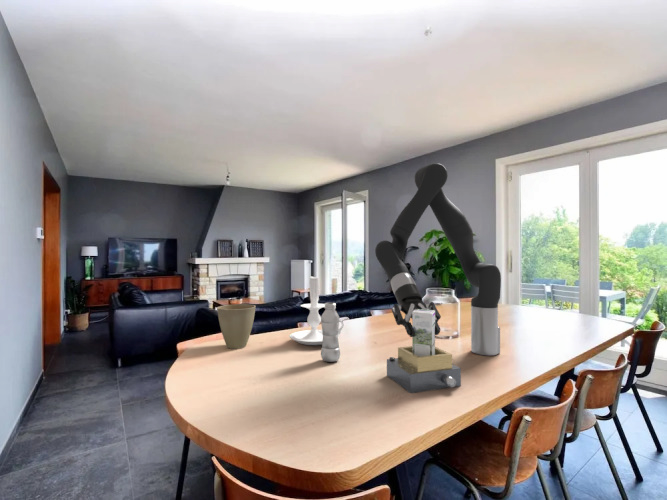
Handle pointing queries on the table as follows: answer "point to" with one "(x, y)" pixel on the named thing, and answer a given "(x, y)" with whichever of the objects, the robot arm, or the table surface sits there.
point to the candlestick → (312, 318)
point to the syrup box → (423, 332)
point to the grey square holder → (423, 370)
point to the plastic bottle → (330, 333)
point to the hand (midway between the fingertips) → (425, 334)
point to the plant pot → (236, 324)
